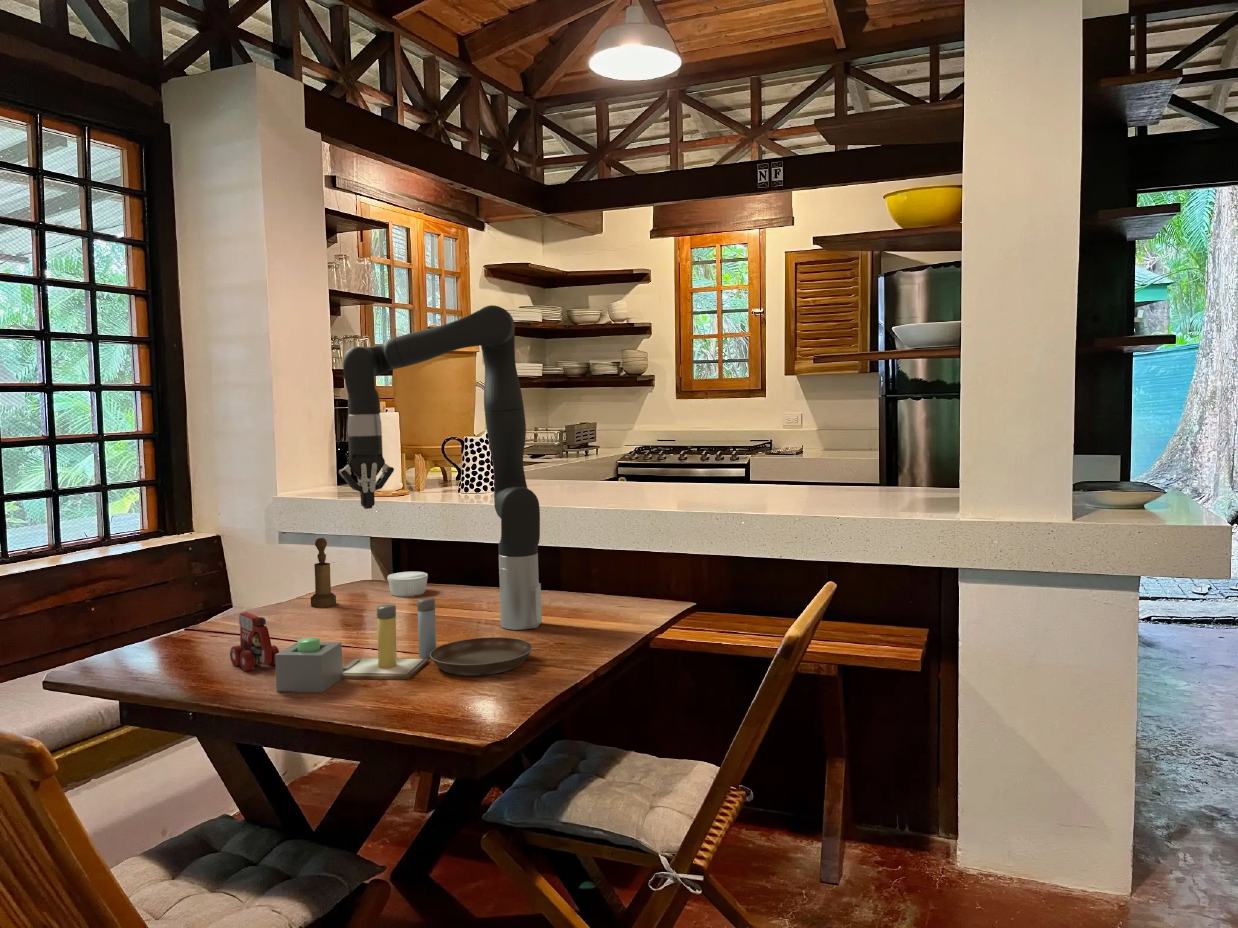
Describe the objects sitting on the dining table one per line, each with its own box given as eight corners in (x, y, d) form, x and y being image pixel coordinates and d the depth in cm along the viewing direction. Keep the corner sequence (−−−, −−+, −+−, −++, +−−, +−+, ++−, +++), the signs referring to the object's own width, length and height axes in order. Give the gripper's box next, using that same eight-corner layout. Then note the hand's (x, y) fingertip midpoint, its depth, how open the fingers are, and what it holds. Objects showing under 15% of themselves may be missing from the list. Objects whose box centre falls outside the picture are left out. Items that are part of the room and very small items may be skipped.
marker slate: (439, 653, 193) (437, 597, 192) (433, 658, 189) (431, 601, 188) (422, 653, 193) (420, 597, 192) (416, 658, 189) (414, 601, 188)
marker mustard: (400, 663, 183) (398, 604, 182) (392, 668, 179) (390, 609, 178) (382, 661, 184) (381, 603, 183) (374, 667, 180) (373, 608, 179)
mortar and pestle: (341, 604, 242) (338, 537, 240) (318, 609, 237) (315, 540, 236) (328, 601, 246) (325, 535, 245) (306, 605, 241) (303, 538, 240)
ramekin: (418, 598, 248) (417, 579, 247) (380, 597, 250) (380, 578, 250) (434, 589, 259) (434, 571, 258) (398, 589, 261) (397, 570, 261)
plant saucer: (413, 663, 186) (412, 647, 186) (500, 645, 199) (500, 630, 199) (460, 687, 170) (459, 670, 170) (552, 666, 183) (551, 650, 182)
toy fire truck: (251, 675, 180) (248, 623, 179) (227, 662, 189) (224, 613, 188) (285, 667, 185) (282, 617, 184) (260, 655, 194) (257, 608, 193)
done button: (324, 658, 174) (323, 637, 174) (314, 664, 170) (313, 643, 170) (304, 657, 175) (303, 637, 175) (294, 663, 171) (293, 643, 171)
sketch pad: (428, 661, 187) (428, 656, 187) (408, 679, 175) (408, 673, 175) (358, 660, 188) (358, 655, 188) (334, 678, 177) (334, 672, 177)
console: (342, 677, 177) (341, 642, 176) (322, 692, 168) (321, 655, 167) (299, 676, 178) (297, 641, 177) (276, 691, 169) (274, 654, 169)
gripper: (341, 435, 203) (344, 512, 204) (398, 433, 210) (401, 507, 211) (331, 434, 209) (334, 509, 210) (387, 432, 216) (390, 504, 218)
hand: (368, 508), depth 211 cm, fingers closed
